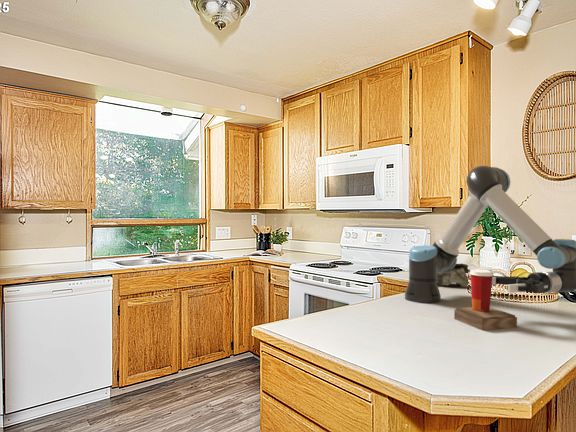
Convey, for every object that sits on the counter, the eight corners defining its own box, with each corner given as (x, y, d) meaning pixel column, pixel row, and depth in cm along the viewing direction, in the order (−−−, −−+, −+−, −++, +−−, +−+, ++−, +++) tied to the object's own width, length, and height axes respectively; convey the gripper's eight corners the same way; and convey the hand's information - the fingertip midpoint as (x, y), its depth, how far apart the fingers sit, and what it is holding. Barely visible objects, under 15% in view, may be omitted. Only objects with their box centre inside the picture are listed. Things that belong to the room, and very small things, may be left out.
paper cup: (492, 308, 144) (493, 270, 144) (492, 313, 137) (493, 273, 137) (468, 305, 147) (469, 268, 147) (468, 310, 141) (469, 271, 140)
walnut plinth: (482, 330, 131) (482, 318, 131) (454, 318, 145) (454, 307, 145) (516, 327, 135) (517, 315, 134) (486, 316, 148) (486, 305, 148)
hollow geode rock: (415, 292, 214) (413, 275, 204) (415, 273, 223) (414, 256, 213) (471, 294, 205) (473, 277, 195) (469, 274, 213) (471, 256, 203)
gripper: (574, 300, 133) (522, 303, 128) (515, 286, 157) (469, 288, 152) (575, 278, 133) (522, 280, 128) (516, 267, 157) (469, 269, 152)
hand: (493, 284), depth 140 cm, fingers open, 13 cm apart
